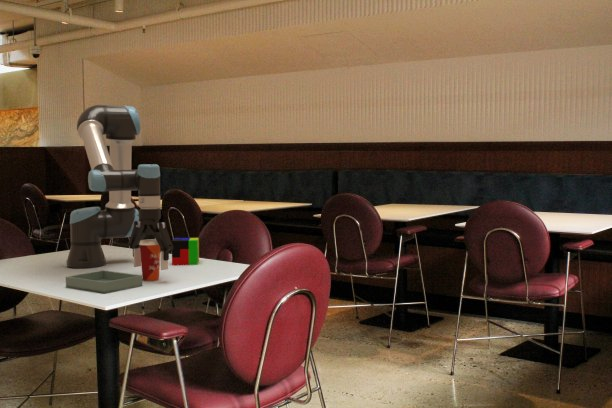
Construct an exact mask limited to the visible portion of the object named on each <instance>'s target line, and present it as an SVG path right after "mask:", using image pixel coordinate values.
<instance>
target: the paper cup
mask: <svg viewBox="0 0 612 408" xmlns="http://www.w3.org/2000/svg"><path fill="white" fill-rule="evenodd" d="M139 245H140V253H141V266H140V267H141V275H142V281H145V282H154V281H159V279H160V268H161V252H160V251H161V247H160V246H159V244H158V242H157V240H156V239H155V238H151V239H150V238H149V239H143V240H140V243H139Z"/></svg>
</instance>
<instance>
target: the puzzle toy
mask: <svg viewBox="0 0 612 408" xmlns="http://www.w3.org/2000/svg"><path fill="white" fill-rule="evenodd" d="M199 241H200V238H199V237H174V238H173V239H171V242H172V244H173V249H171V265H174V266H196V265H198V264H199V262H200V242H199Z"/></svg>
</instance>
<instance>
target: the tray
mask: <svg viewBox="0 0 612 408" xmlns="http://www.w3.org/2000/svg"><path fill="white" fill-rule="evenodd" d="M138 287H143V277H142V274H141V275H140V274H135V273H134V274H131V273H127V272H126V273H125V272H119V271H118V272H117V271H109V270H99V271H91V272H86V273H81V274H73V275H69V276H65V288H68V289H69V288H70V289H75V290H82V291H88V292H94V293H100V294H110V293H114V292H119V291H124V290H129V289H134V288H138Z"/></svg>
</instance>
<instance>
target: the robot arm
mask: <svg viewBox="0 0 612 408" xmlns="http://www.w3.org/2000/svg"><path fill="white" fill-rule="evenodd" d="M76 130H77V135H78V136H79V138H81V140H82V141H83V145H84V149H85V151H86V155H87V159H88V162H89V165H90V171H88V176H87V180H88V181H87V183H88V189H89V190H91V191H93V192H101V193H102V192H108V194H109V195H108V197H109V199H108V200H109V201H108V202H107V203H106V204H105V209H103V210H101V207H100V206H91V207H82V208H77V209H74V210H72V211H71V213H70V217H69V224H70V248H69V252H68V254H67V255H68V257H67V259H66V267H68V268H71V269H72V268H73V269H75V268H76V269H81V268H82V269H83V268H84V269H85V268H87V269H88V268H97V267H103V266H105V265H106V264H107V263H106V262H107V260H106V259H107V258H106V256H105V254H104V251H103V248H102V240H103V239H115V238H117V239H118V238H120V239H121V238H123V239H125V238H129V237H130V238H129V240H128V243H127V244H128V247H131V248H132V257H133V267H134V268H137V267H142V266H141V253H140V245H139V243H140V240H145V237H146V236H147V235H150V236H152V237H154V239H156V240H157V242H158V244H159V246H160V271H165V270H168V269H169V259H170V251H172V249H173V244H172V239H171V237H170V234H169V231H168V229H167V228H168V227H167V222H166V221H165V222H160V219H161V216H162V215H161V209H160V207H161V206H162V205H161V171H160V169H161V168H160V166H159V165H158V164H156V163H155V164H154V163H153V164H145V163H143V164H138V166H137V169H132V153H133V152H132V147H133V146H132V144H133V143H134V142H135V141H136V140H137V139H136V137H137V136H139V135H140V134H141V119H140V115H139V112H138V110H137V108H136V107H134V106H131V105H118V104H117V105H111V104H110V105H108V104H107V105H106V104H105V105H104V104H95V105H91V106H89V107H88V108H86V109H85V110H83V112H81V114H80V115H79V117H78V119H77V122H76ZM104 135H105V138H104ZM105 139H106V140H105ZM106 141H107V142H108V143H109V150H108V146H107V143H106ZM132 191H138V193H137V195H138V207H139V209H137V208H136V207H135V204H134V203H133V202H132Z"/></svg>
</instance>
